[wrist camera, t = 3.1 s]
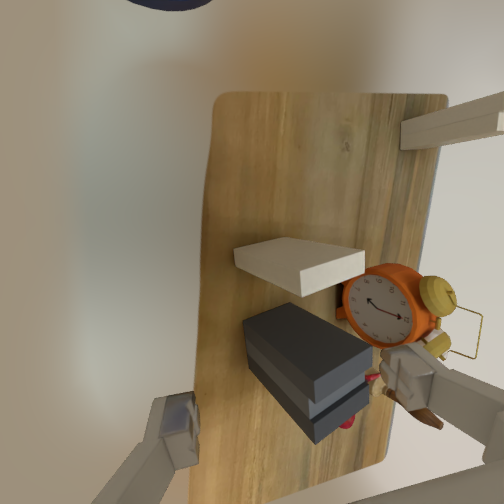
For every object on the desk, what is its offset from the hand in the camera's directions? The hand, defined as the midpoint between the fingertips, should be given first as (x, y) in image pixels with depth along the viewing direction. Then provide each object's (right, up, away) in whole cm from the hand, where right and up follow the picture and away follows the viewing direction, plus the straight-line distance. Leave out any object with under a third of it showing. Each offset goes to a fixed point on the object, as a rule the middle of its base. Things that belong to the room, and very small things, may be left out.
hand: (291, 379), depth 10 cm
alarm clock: (+16, -2, +37) cm, 41 cm away
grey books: (+1, -8, +29) cm, 30 cm away
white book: (0, +5, +26) cm, 27 cm away
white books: (+32, +29, +40) cm, 59 cm away
